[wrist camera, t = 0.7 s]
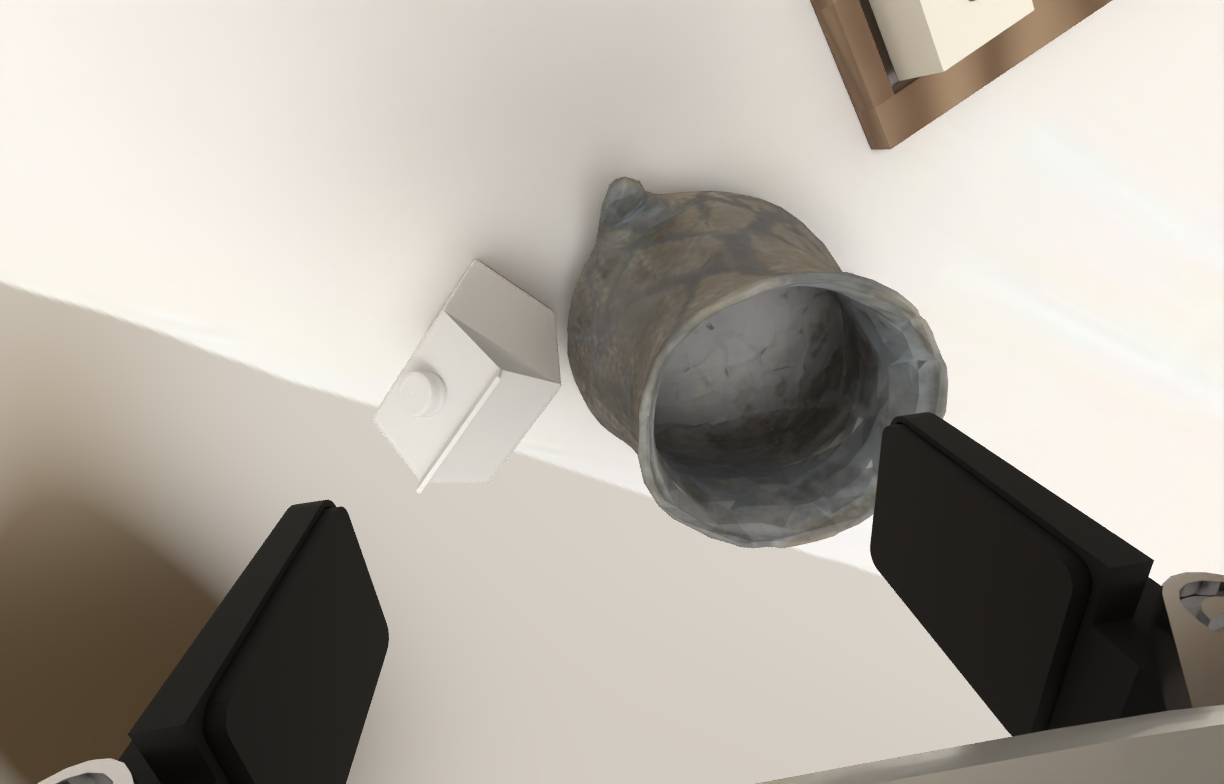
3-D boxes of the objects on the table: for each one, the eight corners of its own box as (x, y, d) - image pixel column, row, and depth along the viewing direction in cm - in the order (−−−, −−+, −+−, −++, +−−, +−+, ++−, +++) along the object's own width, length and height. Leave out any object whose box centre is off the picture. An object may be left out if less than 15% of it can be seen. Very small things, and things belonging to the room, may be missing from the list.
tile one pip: (898, 81, 37) (946, 71, 33) (865, -8, 35) (912, -31, 31) (978, 26, 37) (1037, 9, 32) (949, -68, 35) (1009, -100, 30)
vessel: (822, 424, 50) (983, 580, 32) (573, 446, 48) (592, 626, 30) (853, 160, 42) (1099, 164, 23) (552, 174, 40) (562, 191, 21)
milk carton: (555, 311, 43) (565, 417, 26) (505, 383, 45) (482, 526, 28) (475, 257, 41) (426, 333, 24) (425, 334, 43) (346, 457, 25)
